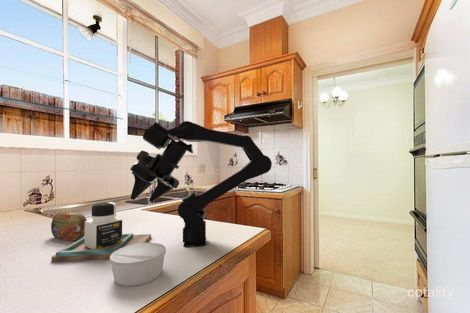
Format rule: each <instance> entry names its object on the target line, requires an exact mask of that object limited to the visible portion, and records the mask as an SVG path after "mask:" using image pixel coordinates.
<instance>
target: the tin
mask: <svg viewBox="0 0 470 313" xmlns="http://www.w3.org/2000/svg"><path fill="white" fill-rule="evenodd" d="M85 221H88V219H87V217H86V216H85V215H83V214H81V213H80V214H79V213H71V212H63V213H61V212H60V213H57V214H55V215H54V216H53V218H52V219H51V224H50V229H51V234H52V236H53V238H54V239H57V240H62V241H68V242H76V241H78V240H79V239H81V238H83V237H85Z"/></svg>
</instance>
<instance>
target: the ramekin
mask: <svg viewBox="0 0 470 313" xmlns="http://www.w3.org/2000/svg"><path fill="white" fill-rule="evenodd" d="M166 253H167V247H166V246H165V245H164V244H161V243H158V242H157V243H156V242H147V243H138V244H133V245H129V246H126V247H123V248H120V249H118V250H117V251H115V252H113V253H112V254H111V256H110V259H109V264H110V265H111V270H112V275H113V276H112V277H113V279H114V282H115V283H116V284H118V285H119V286H120V285H121V286H123V287H136V286H141V285H145V284H148V283H150V282H152V281H154V280H156V278H158V277H159V276H160V275H161V273H162V271H163V269H164V262H165V256H166Z"/></svg>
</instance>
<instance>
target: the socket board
mask: <svg viewBox="0 0 470 313" xmlns="http://www.w3.org/2000/svg"><path fill="white" fill-rule="evenodd" d="M151 239H152V234H151V233H148V234H147V233H146V234H143V233H142V234H134V233H122V241H121V242H120V243H118V244H117V245H115V246H112V247H109V248H105V249H90V248H88V247H86V246H84V240H85V236H84V237H83V238H81V239H79V240H75V241H73V242H72V243H71V244H69V245H67V246H65V247H63V248H61V249H60V250H58V251H56V252H55V254H54V255H52V256H51V258H50V259H51V260H50V262H51V263H53V262H54V263H55V262H58V263H59V262H71V261H72V262H73V261H91V260H92V261H93V260H95V261H96V260H110V256H111V254H112V253H113V252H115V251H117V250H118V249H120V248H123V247H126V246H129V245H133V244H138V243H149V241H150V240H151Z"/></svg>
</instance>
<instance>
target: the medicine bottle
mask: <svg viewBox="0 0 470 313" xmlns="http://www.w3.org/2000/svg"><path fill="white" fill-rule="evenodd" d="M116 216H117V204H116V203H115V202H111V201H106V202H97V203H95V204H92V206H91V219H87V221H85V236H84V237H85V240H84V246H86V247H88V248H90V249H105V248H109V247H112V246H115V245H117V244H118V243H120V242H121V241H122V234H123V219H122V218H118V217H116Z"/></svg>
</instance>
